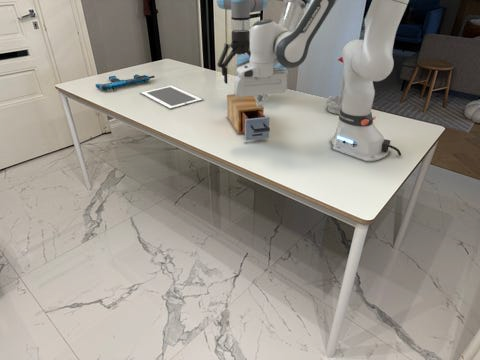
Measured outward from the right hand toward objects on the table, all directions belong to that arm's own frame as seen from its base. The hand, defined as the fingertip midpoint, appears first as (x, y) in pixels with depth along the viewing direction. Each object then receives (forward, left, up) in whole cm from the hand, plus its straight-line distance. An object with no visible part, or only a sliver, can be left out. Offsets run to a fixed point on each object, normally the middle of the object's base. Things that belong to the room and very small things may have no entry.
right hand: (260, 105), depth 130 cm
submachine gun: (+112, +16, -16) cm, 115 cm away
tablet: (+73, +4, -16) cm, 75 cm away
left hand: (+26, -9, +1) cm, 27 cm away
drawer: (+8, -3, -16) cm, 18 cm away
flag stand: (+5, -55, -16) cm, 58 cm away
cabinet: (+20, -7, -16) cm, 27 cm away
